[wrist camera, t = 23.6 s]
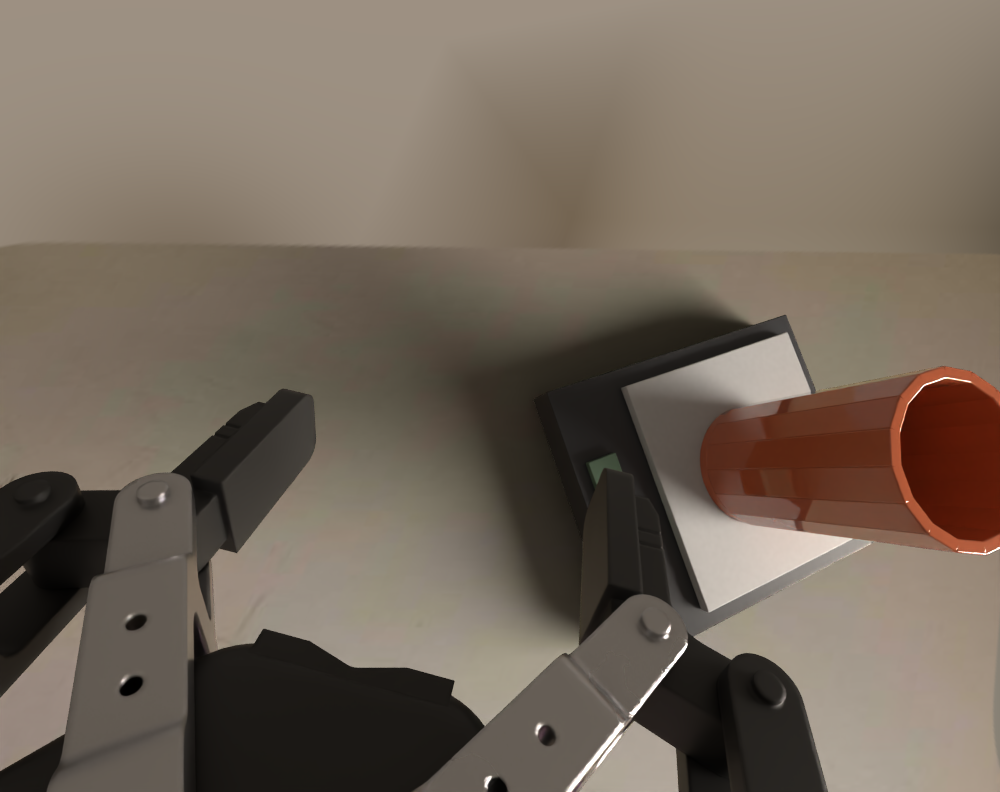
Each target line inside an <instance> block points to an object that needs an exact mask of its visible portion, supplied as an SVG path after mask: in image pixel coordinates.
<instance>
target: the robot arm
mask: <svg viewBox="0 0 1000 792" xmlns="http://www.w3.org/2000/svg"><path fill="white" fill-rule="evenodd" d="M315 444H316V429H315V413H314V400H313V397H312V396H311V395H309V394H305V393H301V392H296V391H292V390H288V389H281V390H279V391H278V392H277V393H276V394H275V395H274V396H273V397H272V398H271V399H270V400H269V401H267V402H266V403H262V402H257V403H255V404H253V405H251V406H249V407H247V408H244V409H242V410H240V411H239V412H238V413H237V414H236V415H234V416H233V417H232V418H231V419H230V420H229V421H228V422H227V423H226V425H225V426H224V425H223V426H222V427H221V428H220V429H219V430H218V431H217V432H215V435H214V436H211V437H210V438H209V439H208V440H207V441H205V442H204V443H203V444H202V445H201V446H200V447H199V448H198V449H197V450H195V451H194V452H193V453H192V454H191V455H190V456H189V457H188V458H187V459H185V460H184V461H183V462H182V463H181V464H180V465H179V466H178V467H177V468H175V469H174V470H173V471H172V472H171V473H156V474H151V475H147V476H144V477H141V478H139V479H137V480H135V481H133V482H131V483H129V484H128V485H127V486H125V487H124V488H123V489H122V490H99V491H80V488H79V486H78V484H77V482H76V480H75V478H74V477H73V476H71V475H69V474H67V473H63V472H53V471H50V472H41V473H35V474H31V475H28V476H25V477H22V478H19V479H17V480H14V481H12V482H10V483H9V484H7V485H5V486H4V487H2V488H1V489H0V585H1V584H2V583H3V582H5V581H6V580H7V579H8V578H9V577H10V576H11V575H12V574H14V573H15V572H16V571H17V570H18V569H19V568H20V567H21V566H22V565H23V566H24V568H25V570H26V571H25V572H24V573H23V574H21V575H20V576H19V577H18V578H17V579H16V580H15V581H14V582H13V583H12V584H10V585H9V586H8V587H7V588H6V589H5V590H4V591H3V592H2V593H1V594H0V697H1V696H2V695H3V694H4V693H5V692H6V691H7V690H8V689H9V687H10V686H11V685H12V684H13V683H14V682H15V681H16V680H17V679H18V678H19V676H20V675H21V674H22V673H23V672H24V671H25V670H26V669H27V668H28V667H29V666H30V664H31V663H32V662H33V661H34V660H35V659H36V658H37V657H38V656H39V655H40V654H41V652H42V651H43V650H44V649H45V648H46V647H47V646H48V645H49V644H50V643H51V642H52V640H53V639H54V638H55V637H56V636H57V635H58V634H59V633H60V632H61V631H62V629H63V628H64V627H65V626H66V625H67V624H68V623H69V622H70V621H71V620H72V619H73V617H74V616H75V615H76V614H77V613H78V612H79V611H80V610H81V609H82V608H83V607H84V605H85V604H86V603H87V604H86V610H85V616H84V622H83V628H82V634H81V640H80V647H79V653H78V659H77V665H76V671H75V677H74V683H73V689H72V696H71V702H70V708H69V714H68V720H67V726H66V732H65V734H64V735H62V736H61V737H59V738H57V739H55V740H54V741H52V742H50V743H48V744H47V745H45V746H43V747H42V748H40V749H38V750H36V751H35V752H33V753H31V754H29V755H28V756H26V757H24V758H22V759H21V760H19V761H17V762H15V763H14V764H12V765H10V766H9V767H7V768H5V769H3V770H2V771H0V792H579V791H580V790H581V788H582V787H583V786H584V784H585V783H586V782H587V780H588V779H589V778H590V776H591V775H592V774H593V773H594V771H595V770H596V769H597V768H598V766H599V765H600V764H601V762H602V761H603V760H604V759H605V757H606V756H607V755H608V754H609V752H610V751H611V750H612V749H613V747H614V746H615V745H616V743H617V742H618V741H619V740H620V738H621V737H622V736H623V735H624V733H625V732H626V731H627V729H628V728H629V727H630V726H631V724H632V723H633V722H634V721H636V722H637V723H639V724H640V725H642V726H643V727H645V728H646V729H648V730H649V731H651V732H652V733H654V734H655V735H657V736H658V737H660V738H661V739H663V740H665V741H666V742H668V743H669V744H671V745H672V746H674V747H675V748H676V754H677V770H678V787H679V792H828V790H827V786H826V783H825V779H824V775H823V772H822V768H821V765H820V761H819V757H818V754H817V750H816V746H815V743H814V739H813V735H812V732H811V728H810V724H809V721H808V717H807V714H806V710H805V706H804V703H803V700H802V697H801V694H800V692H799V690H798V688H797V687H796V685H795V684H794V682H793V681H792V680H791V678H790V677H789V676H788V675H787V674H786V673H785V672H784V671H783V670H782V669H781V668H780V667H779V666H777V665H776V664H775V663H773V662H772V661H770V660H768V659H766V658H764V657H762V656H759V655H756V654H751V653H744V654H740V655H737V656H736V657H735V658H733V660H730V659H728V658H727V657H725V656H723V655H721V654H720V653H718V652H716V651H714V650H713V649H711V648H709V647H707V646H706V645H704V644H702V643H701V642H699V641H698V640H696V639H695V638H694V637H693V636H691V635H690V634H689V633H688V632H687V630H686V626H685V624H684V622H683V620H682V619H681V617H680V616H679V614H678V613H677V612H676V611H675V610H674V609H673V608H672V605H671V600H670V592H669V585H668V578H667V570H666V563H665V556H664V550H663V541H662V536H661V526H660V519H659V515H658V513H657V511H656V509H655V508H654V506H653V504H652V503H651V501H650V499H648V498H644V497H640V496H636V495H635V486H634V477H633V475H632V474H629V473H625V472H621V471H617V470H613V469H609V468H604V469H603V470H602V473H601V475H600V478H599V480H598V483H597V485H596V488H595V491H594V493H593V496H592V499H591V501H590V504H589V506H588V509H587V513H586V517H585V522H584V530H583V554H582V580H581V605H580V630H579V645H580V646H579V647H578V648H576V649H575V650H574V651H573V652H572V653H571V654H569V655H568V654H567V653H564V654H562V655H561V656H559V657H558V658H557V659H555V660H554V661H553V662H552V663H551V664H550V665H549V666H548V667H547V668H546V669H545V670H544V671H543V672H542V673H541V674H540V675H539V676H537V677H536V678H535V679H534V680H533V681H532V682H531V683H530V684H529V685H528V686H527V687H526V688H525V689H524V690H523V691H522V692H521V693H520V694H519V695H518V696H516V697H515V698H514V699H513V700H512V701H511V702H510V703H509V704H508V705H507V706H506V707H505V708H504V709H503V710H502V711H501V712H500V713H499V714H498V715H497V716H495V717H494V718H493V719H492V720H491V721H490V722H489V723H488V724H487V725H486V726H484V725H483V724H482V722H481V721H480V719H479V718H478V717H477V716H476V715H475V714H474V713H473V712H472V711H471V710H470V709H469V708H468V707H467V706H466V705H464V704H463V703H462V702H461V701H459V700H458V699H456V698H454V697H453V696H451V694H452V690H453V685H454V680H450V679H446V678H443V677H439V676H435V675H432V674H428V673H424V672H421V671H417V670H413V669H410V668H354V667H350V666H348V665H347V664H345V663H343V662H342V661H340V660H339V659H337V658H336V657H334V656H332V655H331V654H329V653H328V652H326V651H324V650H323V649H321V648H320V647H318V646H316V645H315V644H313V643H312V642H310V641H307V640H303V639H300V638H296V637H292V636H289V635H285V634H281V633H278V632H274V631H270V630H267V629H263V630H262V632H261V634H260V635H259V637H258V638H257V640H256V642H255V643H254V644H243V645H236V646H231V647H227V648H223V649H220V650H218V646H217V640H216V633H215V618H214V597H213V577H212V563H211V558H212V557H213V556H214V554H215V553H216V552H217V551H218V549H219V548H220V549H223V550H227V551H231V552H235V553H237V552H238V551H239V550H240V548H241V547H242V546H243V545H244V543H245V542H246V541H247V539H248V538H249V537H250V536H251V534H252V533H253V532H254V530H255V529H256V528H257V527H258V525H259V524H260V523H261V522H262V520H263V519H264V518H265V516H266V515H267V514H268V513H269V511H270V510H271V509H272V507H273V506H274V505H275V504H276V502H277V501H278V500H279V498H280V497H281V496H282V495H283V493H284V492H285V491H286V489H287V488H288V487H289V486H290V484H291V483H292V482H293V480H294V479H295V478H296V477H297V475H298V474H299V473H300V471H301V470H302V469H303V468H304V466H305V465H306V464H307V463H308V461H309V460H310V458H311V456H312V454H313V452H314V448H315Z"/></svg>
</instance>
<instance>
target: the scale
mask: <svg viewBox="0 0 1000 792" xmlns="http://www.w3.org/2000/svg"><path fill="white" fill-rule="evenodd" d="M812 391H816V389H815V387H814V384H813V382H812V379H811V377H810V374H809V372H808V369H807V367H806V364H805V362H804V359H803V357H802V354H801V352H800V349H799V347H798V344H797V342H796V339H795V336H794V334H793V331H792V329H791V326H790V324H789V321H788V319H787V316H786V315H783V316H780V317H777V318H774V319H771V320H768V321H765V322H762V323H759V324H756V325H752V326H749V327H746V328H743V329H740V330H737V331H734V332H731V333H728V334H725V335H722V336H719V337H716V338H712V339H709V340H706V341H703V342H700V343H697V344H694V345H691V346H688V347H685V348H682V349H679V350H676V351H673V352H669V353H666V354H663V355H660V356H657V357H654V358H651V359H648V360H645V361H642V362H639V363H636V364H633V365H630V366H626V367H623V368H620V369H617V370H614V371H611V372H608V373H605V374H602V375H599V376H596V377H593V378H590V379H586V380H583V381H580V382H577V383H574V384H571V385H568V386H565V387H562V388H559V389H556V390H553V391H550V392H547V393H545V394H543V395H541V396H539V397H537V398H535V399H533V401H534V403H535V406H536V409H537V412H538V415H539V418H540V421H541V424H542V426H543V429H544V432H545V435H546V438H547V441H548V444H549V447H550V449H551V452H552V455H553V458H554V461H555V464H556V467H557V470H558V472H559V475H560V478H561V481H562V484H563V487H564V490H565V493H566V495H567V498H568V501H569V504H570V507H571V510H572V513H573V516H574V518H575V521H576V524H577V527H578V530H579V533H580V536H581V539H582V541H583V530H584V522H585V517H586V513H587V509H588V506H589V504H590V501H591V499H592V496H593V493H594V491H595V488H596V485H597V483H598V480H599V478H600V475H601V473H602V470H603V469H604V468H609V469H613V470H617V471H621V472H625V473H629V474H632V475H633V477H634V486H635V495H636V496H640V497H644V498H648V499H650V501H651V503H652V504H653V506H654V508H655V509H656V511H657V513H658V515H659V519H660V526H661V536H662V541H663V550H664V556H665V563H666V570H667V578H668V585H669V592H670V600H671V605H672V608H673V609H674V610H675V611H676V612H677V613H678V614H679V616H680V617H681V619H682V620H683V622H684V624H685V626H686V630H687V632H688V633H689V634H690V635H691V636H695V635H697V634H699V633H701V632H703V631H705V630H707V629H709V628H710V627H712V626H714V625H716V624H718V623H720V622H722V621H724V620H726V619H728V618H730V617H732V616H733V615H735V614H737V613H739V612H741V611H743V610H745V609H747V608H749V607H751V606H753V605H755V604H756V603H758V602H760V601H762V600H764V599H766V598H768V597H770V596H772V595H774V594H776V593H777V592H779V591H781V590H783V589H785V588H787V587H789V586H791V585H793V584H795V583H797V582H799V581H800V580H802V579H804V578H806V577H808V576H810V575H812V574H814V573H816V572H818V571H820V570H822V569H823V568H825V567H827V566H829V565H831V564H833V563H835V562H837V561H839V560H841V559H843V558H844V557H846V556H848V555H850V554H852V553H854V552H856V551H858V550H860V549H862V548H864V547H866V546H867V545H869V544H871V543H873V542H874V541H866V540H859V539H851V538H844V537H836V536H829V535H822V534H814V533H807V532H799V531H792V530H784V529H777V528H770V527H762V526H755V525H750V524H745V523H742V522H739V521H737V520H735V519H733V518H731V517H729V516H728V515H726V514H725V513H724V512H723V511H722V510H721V509H720V508H719V507H718V506H717V505H716V504H715V503H714V501H713V500H712V498H711V497H710V495H709V493H708V491H707V489H706V487H705V484H704V482H703V478H702V475H701V468H700V450H701V445H702V441H703V438H704V435H705V433H706V431H707V429H708V428H709V426H710V425H711V423H712V422H713V421H714V420H715V419H716V418H717V417H718V416H719V415H721V414H722V413H724V412H725V411H727V410H729V409H732V408H736V407H740V406H744V405H747V404H751V403H756V402H762V401H767V400H772V399H777V398H782V397H787V396H792V395H797V394H802V393H807V392H812Z"/></svg>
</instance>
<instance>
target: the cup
mask: <svg viewBox="0 0 1000 792" xmlns="http://www.w3.org/2000/svg"><path fill="white" fill-rule="evenodd" d="M700 468H701V475H702V478H703V482H704V484H705V487H706V489H707V491H708V493H709V495H710V497H711V498H712V500H713V501H714V503H715V504H716V505H717V506H718V507H719V508H720V509H721V510H722V511H723V512H724V513H725V514H726V515H728V516H729V517H731V518H733V519H735V520H737V521H739V522H742V523H745V524H750V525H755V526H762V527H770V528H777V529H784V530H792V531H799V532H807V533H814V534H822V535H829V536H836V537H844V538H851V539H859V540H866V541H874V542H881V543H889V544H896V545H903V546H911V547H918V548H926V549H933V550H941V551H948V552H956V553H966V554H976V555H987V554H989V553H991V552H993V551H995V550H997V549H999V548H1000V392H999V391H998V390H996V388H995V387H993V386H992V385H990V384H989V383H988V382H986V381H985V380H983V379H982V378H980V377H979V376H977V375H976V374H974V373H973V372H971V371H967V370H962V369H957V368H952V367H947V366H940V367H934V368H929V369H924V370H919V371H914V372H909V373H904V374H899V375H894V376H889V377H884V378H878V379H873V380H868V381H863V382H858V383H853V384H848V385H843V386H838V387H833V388H828V389H823V390H817V391H812V392H807V393H802V394H797V395H792V396H787V397H782V398H777V399H772V400H767V401H762V402H756V403H751V404H747V405H744V406H740V407H736V408H732V409H729V410H727V411H725V412H724V413H722V414H721V415H719V416H718V417H717V418H716V419H715V420H714V421H713V422H712V423H711V425H710V426H709V428H708V429H707V431H706V433H705V435H704V438H703V441H702V445H701V450H700Z"/></svg>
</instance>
